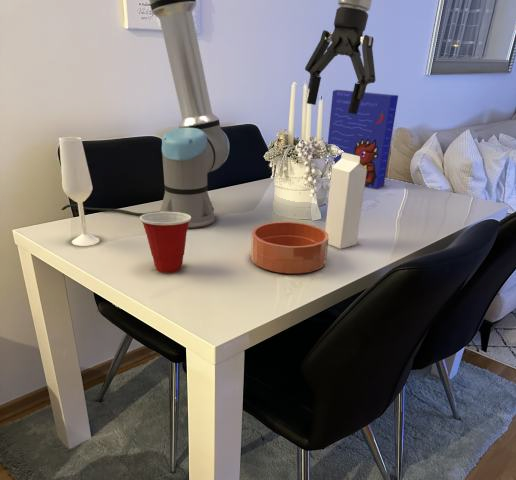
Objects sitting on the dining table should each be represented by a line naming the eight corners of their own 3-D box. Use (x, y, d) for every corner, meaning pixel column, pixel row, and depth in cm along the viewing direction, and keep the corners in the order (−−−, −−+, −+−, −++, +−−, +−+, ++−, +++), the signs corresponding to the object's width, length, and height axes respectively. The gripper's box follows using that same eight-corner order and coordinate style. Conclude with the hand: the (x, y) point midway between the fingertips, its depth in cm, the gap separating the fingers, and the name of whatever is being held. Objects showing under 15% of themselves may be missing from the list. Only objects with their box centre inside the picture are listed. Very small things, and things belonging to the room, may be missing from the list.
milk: (340, 249, 127) (351, 157, 115) (323, 242, 131) (332, 153, 119) (356, 244, 130) (369, 155, 118) (340, 237, 134) (350, 150, 122)
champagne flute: (97, 235, 129) (83, 135, 117) (102, 243, 124) (88, 140, 112) (70, 238, 127) (52, 136, 114) (73, 247, 122) (56, 141, 109)
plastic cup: (194, 259, 118) (193, 208, 112) (191, 278, 109) (189, 223, 102) (148, 258, 117) (143, 207, 111) (140, 277, 108) (135, 222, 102)
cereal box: (383, 185, 184) (398, 94, 168) (376, 188, 180) (390, 95, 164) (332, 175, 195) (341, 89, 179) (324, 178, 191) (332, 90, 175)
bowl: (258, 276, 110) (259, 248, 107) (246, 248, 125) (246, 222, 122) (335, 273, 113) (338, 246, 110) (314, 245, 128) (316, 220, 125)
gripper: (407, 16, 112) (379, 119, 122) (322, 9, 127) (304, 102, 137) (389, 9, 107) (362, 116, 117) (303, 2, 122) (285, 98, 132)
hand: (331, 108), depth 127 cm, fingers open, 13 cm apart
